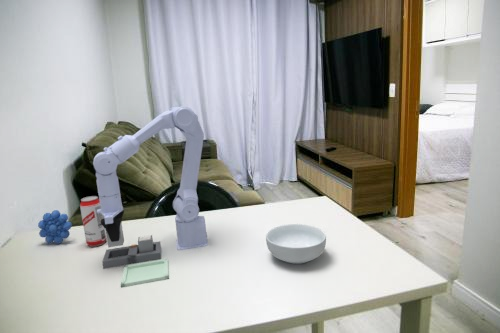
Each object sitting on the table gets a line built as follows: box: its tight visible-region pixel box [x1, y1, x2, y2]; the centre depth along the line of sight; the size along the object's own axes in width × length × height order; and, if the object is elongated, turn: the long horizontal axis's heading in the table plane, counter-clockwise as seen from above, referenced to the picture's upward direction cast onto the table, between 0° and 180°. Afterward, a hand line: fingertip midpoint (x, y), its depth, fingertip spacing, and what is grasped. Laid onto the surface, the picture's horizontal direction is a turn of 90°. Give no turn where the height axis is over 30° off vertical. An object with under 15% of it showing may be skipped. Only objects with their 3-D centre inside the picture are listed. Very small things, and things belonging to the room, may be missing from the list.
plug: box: [105, 222, 125, 248], centre depth 100 cm, size 4×4×6 cm
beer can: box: [79, 195, 107, 248], centre depth 113 cm, size 6×6×16 cm
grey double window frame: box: [101, 241, 162, 270], centre depth 103 cm, size 16×8×3 cm, turn 104°
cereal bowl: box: [265, 223, 327, 265], centre depth 98 cm, size 17×17×7 cm
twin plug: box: [137, 234, 154, 254], centre depth 103 cm, size 4×4×6 cm
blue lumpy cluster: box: [38, 210, 73, 245], centre depth 117 cm, size 12×7×12 cm, turn 87°
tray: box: [120, 258, 170, 288], centre depth 93 cm, size 12×10×1 cm
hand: (116, 238), depth 100 cm, fingers closed on plug, 3 cm apart
